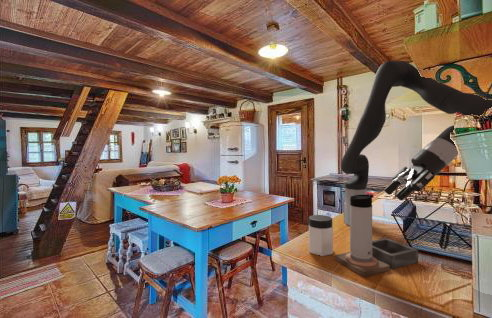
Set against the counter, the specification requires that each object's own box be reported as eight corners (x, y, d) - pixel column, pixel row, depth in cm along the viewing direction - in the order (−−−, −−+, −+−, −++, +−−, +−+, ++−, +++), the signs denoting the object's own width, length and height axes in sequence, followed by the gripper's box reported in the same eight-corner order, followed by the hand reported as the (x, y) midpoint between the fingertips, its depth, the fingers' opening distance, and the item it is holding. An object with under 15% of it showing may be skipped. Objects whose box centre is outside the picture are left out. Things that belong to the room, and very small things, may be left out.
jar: (323, 245, 94) (323, 213, 93) (338, 253, 86) (338, 219, 86) (303, 248, 91) (303, 216, 90) (316, 257, 83) (316, 222, 83)
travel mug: (376, 263, 74) (376, 196, 73) (352, 261, 75) (352, 196, 74) (370, 254, 80) (370, 193, 79) (348, 253, 81) (348, 192, 80)
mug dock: (334, 259, 82) (334, 247, 81) (385, 248, 90) (385, 237, 89) (364, 277, 70) (364, 263, 70) (418, 262, 78) (419, 250, 78)
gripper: (412, 148, 80) (374, 183, 83) (439, 148, 66) (392, 190, 69) (430, 164, 80) (391, 199, 82) (461, 168, 66) (413, 210, 68)
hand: (391, 195), depth 75 cm, fingers open, 8 cm apart
